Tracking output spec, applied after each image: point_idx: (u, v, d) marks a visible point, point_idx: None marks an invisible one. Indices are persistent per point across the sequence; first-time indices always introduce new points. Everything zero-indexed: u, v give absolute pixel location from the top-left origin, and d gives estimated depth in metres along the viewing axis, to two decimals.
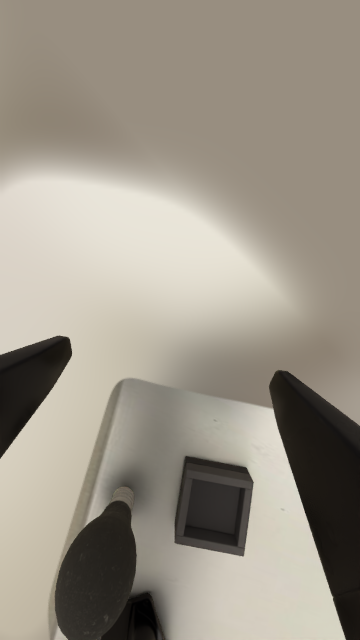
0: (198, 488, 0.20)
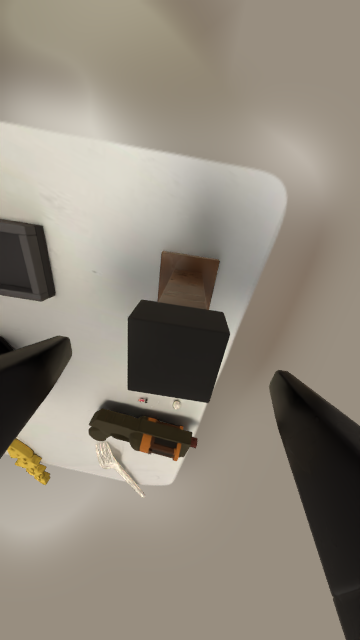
0: None
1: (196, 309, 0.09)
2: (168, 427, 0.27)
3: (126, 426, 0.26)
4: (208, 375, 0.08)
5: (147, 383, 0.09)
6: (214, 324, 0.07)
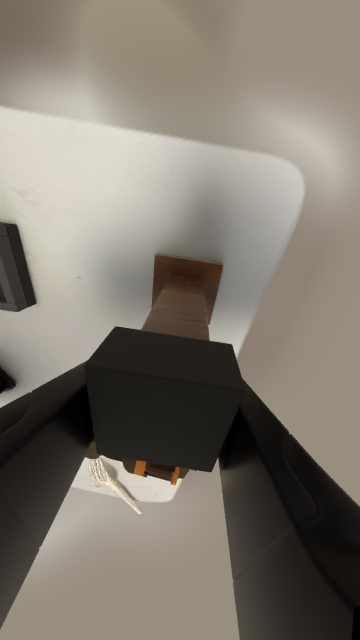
0: None
1: (193, 341, 0.06)
2: None
3: None
4: (211, 442, 0.05)
5: (123, 448, 0.06)
6: (219, 371, 0.05)
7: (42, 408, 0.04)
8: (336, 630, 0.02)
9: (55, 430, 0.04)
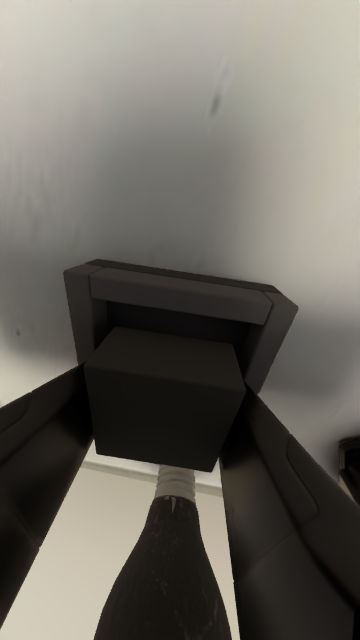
0: None
1: (193, 340, 0.06)
2: None
3: None
4: (211, 442, 0.05)
5: (123, 448, 0.06)
6: (220, 371, 0.05)
7: (42, 408, 0.04)
8: (337, 630, 0.02)
9: (55, 430, 0.04)
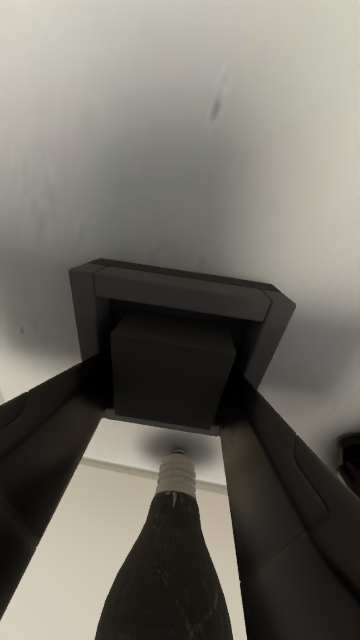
0: None
1: (195, 320, 0.07)
2: None
3: None
4: (209, 400, 0.07)
5: (137, 408, 0.07)
6: (216, 341, 0.06)
7: (38, 408, 0.04)
8: (352, 634, 0.02)
9: (51, 430, 0.04)
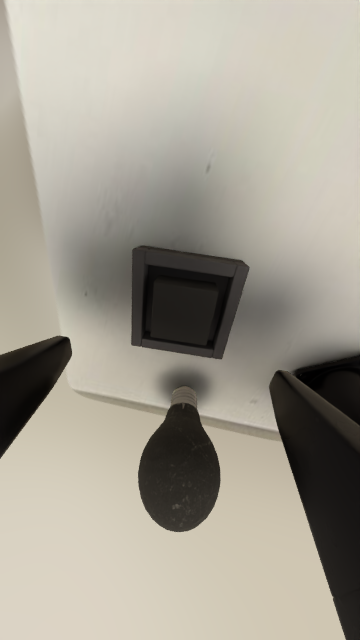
0: None
1: (197, 280, 0.13)
2: None
3: None
4: (205, 323, 0.12)
5: (164, 330, 0.13)
6: (209, 287, 0.12)
7: None
8: None
9: None
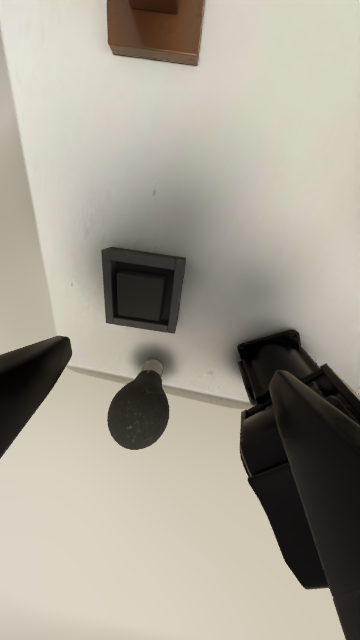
0: None
1: None
2: None
3: None
4: (156, 303, 0.17)
5: (127, 310, 0.17)
6: (157, 277, 0.16)
7: None
8: None
9: None
